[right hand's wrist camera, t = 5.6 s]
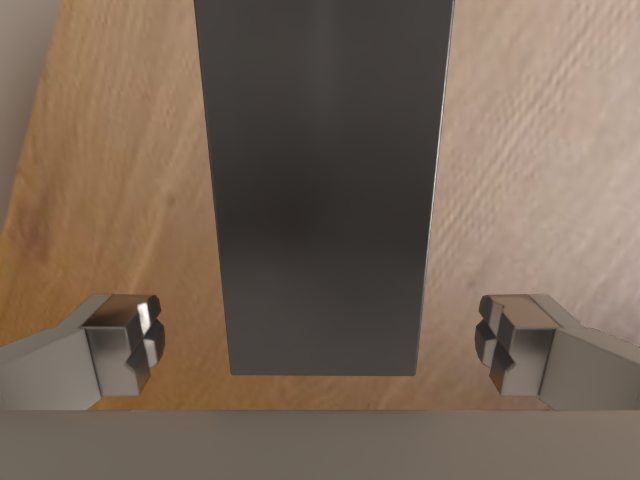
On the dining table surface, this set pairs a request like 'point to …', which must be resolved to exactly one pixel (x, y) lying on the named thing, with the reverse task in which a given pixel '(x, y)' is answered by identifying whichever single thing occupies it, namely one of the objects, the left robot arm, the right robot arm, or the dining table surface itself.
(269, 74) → the box
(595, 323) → the dining table surface
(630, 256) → the dining table surface
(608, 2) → the dining table surface
